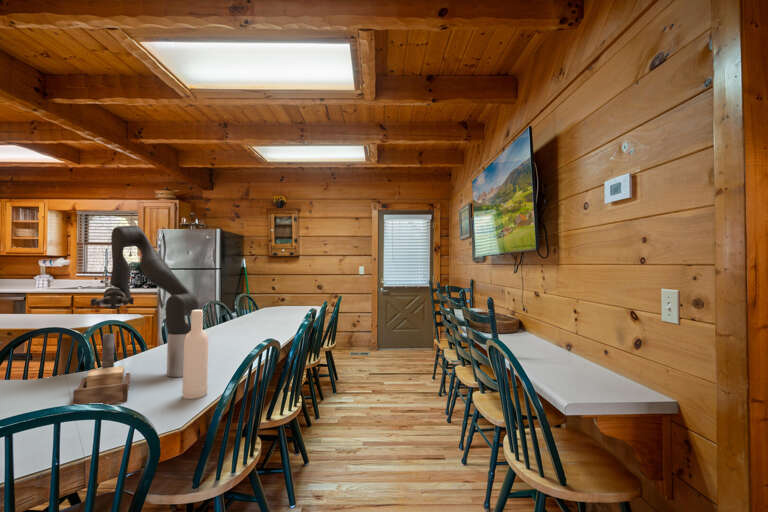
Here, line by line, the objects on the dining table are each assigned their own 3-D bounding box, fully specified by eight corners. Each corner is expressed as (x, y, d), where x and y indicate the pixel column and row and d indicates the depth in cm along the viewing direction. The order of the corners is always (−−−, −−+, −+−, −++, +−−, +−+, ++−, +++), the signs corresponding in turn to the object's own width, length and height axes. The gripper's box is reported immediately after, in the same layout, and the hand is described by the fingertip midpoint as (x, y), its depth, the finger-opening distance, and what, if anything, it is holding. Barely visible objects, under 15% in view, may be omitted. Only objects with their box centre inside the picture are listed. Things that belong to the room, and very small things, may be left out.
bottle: (194, 400, 128) (196, 312, 128) (176, 397, 131) (179, 310, 131) (212, 393, 135) (214, 309, 136) (195, 390, 138) (197, 308, 139)
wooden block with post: (124, 379, 145) (125, 332, 146) (122, 389, 134) (123, 338, 135) (90, 383, 140) (92, 334, 140) (86, 393, 129) (87, 341, 129)
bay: (129, 384, 143) (130, 368, 143) (127, 401, 126) (127, 383, 126) (82, 390, 135) (83, 373, 135) (73, 409, 118) (73, 390, 119)
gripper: (94, 291, 159) (89, 294, 145) (134, 290, 167) (133, 293, 153) (93, 308, 159) (88, 313, 145) (134, 307, 166) (133, 311, 153)
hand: (111, 303), depth 149 cm, fingers open, 8 cm apart
